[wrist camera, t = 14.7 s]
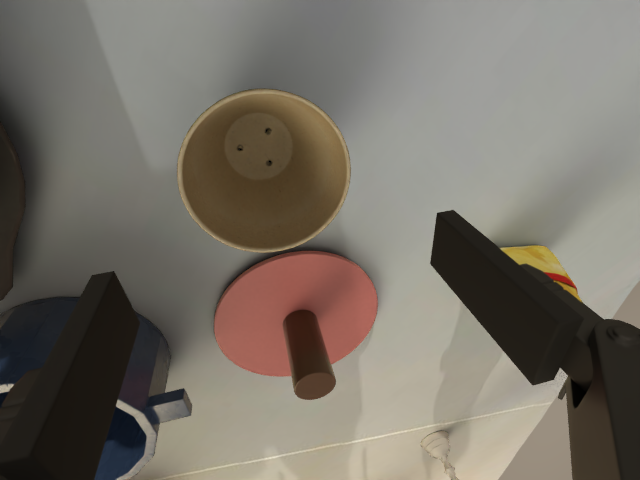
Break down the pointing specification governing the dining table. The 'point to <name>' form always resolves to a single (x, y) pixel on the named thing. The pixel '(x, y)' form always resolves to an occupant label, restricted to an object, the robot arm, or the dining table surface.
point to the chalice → (439, 450)
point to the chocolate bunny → (543, 264)
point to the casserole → (9, 208)
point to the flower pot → (263, 170)
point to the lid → (296, 318)
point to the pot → (136, 392)
